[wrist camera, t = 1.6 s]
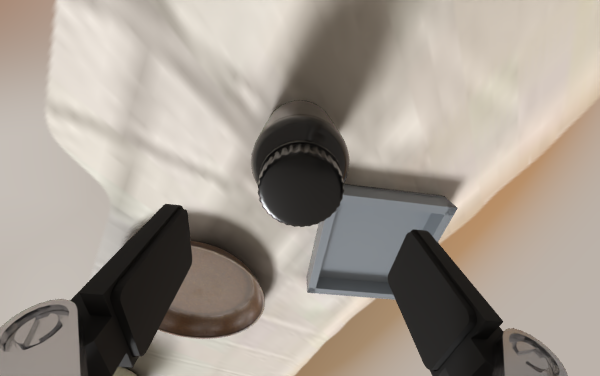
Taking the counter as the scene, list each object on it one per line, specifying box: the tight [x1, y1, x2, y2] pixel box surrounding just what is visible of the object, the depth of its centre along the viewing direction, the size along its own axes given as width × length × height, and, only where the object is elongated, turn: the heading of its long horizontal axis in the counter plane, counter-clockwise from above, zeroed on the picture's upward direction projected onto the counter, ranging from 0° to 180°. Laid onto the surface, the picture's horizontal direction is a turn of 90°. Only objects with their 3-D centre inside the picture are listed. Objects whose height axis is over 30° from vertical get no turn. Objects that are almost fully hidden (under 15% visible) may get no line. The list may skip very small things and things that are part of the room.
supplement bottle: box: [251, 100, 349, 227], centre depth 17 cm, size 7×7×12 cm
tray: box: [307, 184, 457, 300], centre depth 29 cm, size 16×14×2 cm
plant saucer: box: [158, 241, 265, 339], centre depth 32 cm, size 21×21×3 cm
